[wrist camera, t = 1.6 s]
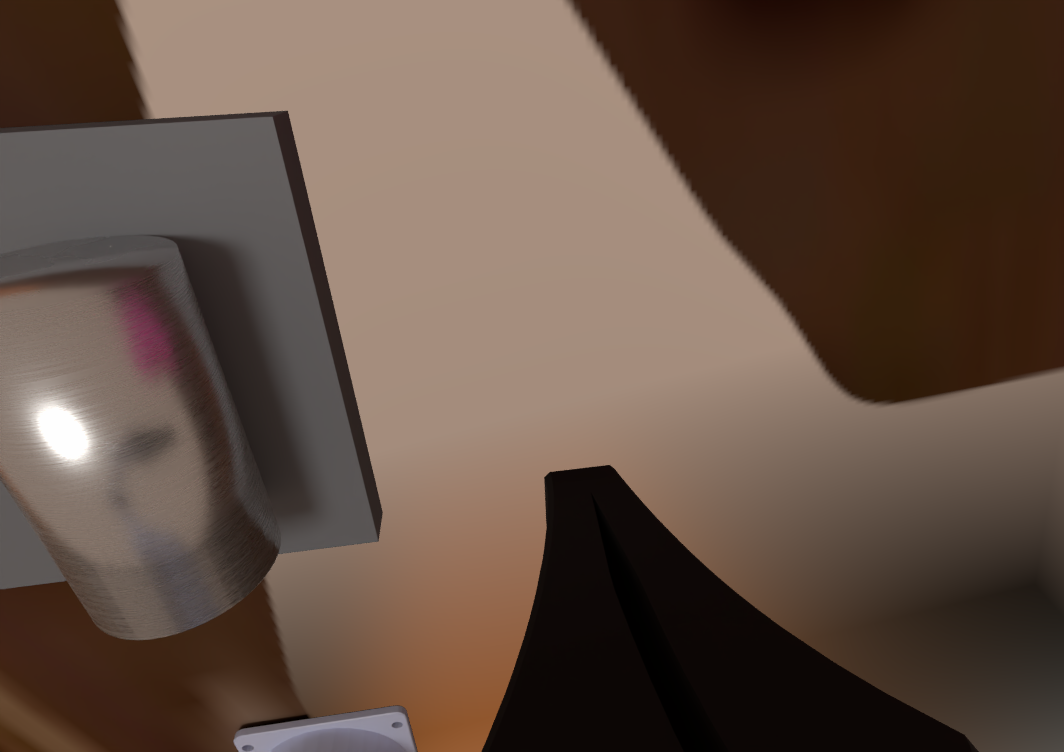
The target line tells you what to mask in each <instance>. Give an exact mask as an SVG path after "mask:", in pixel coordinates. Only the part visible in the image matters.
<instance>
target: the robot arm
mask: <svg viewBox="0 0 1064 752" xmlns="http://www.w3.org/2000/svg"><path fill="white" fill-rule="evenodd" d="M544 479H545V501H546V523H547V530H546V539H545V547H544V554H543V561H542V566H541V570H540V575H539V581H538V586H537V591H536V595H535V599H534V603H533V607H532V611H531V615H530V619H529V622H528V626H527V629H526V633H525V636H524V640H523V643H522V646H521V649H520V652H519V655H518V658H517V661H516V664H515V667H514V670H513V673H512V676H511V679H510V682H509V685H508V687H507V690H506V693H505V695H504V698H503V701H502V703H501V705H500V708H499V710H498V713H497V716H496V718H495V720H494V723H493V725H492V728H491V730H490V733H489V736H488V738H487V740H486V743H485V745H484V747H483V749H482V752H978V750H977V749H976V748H975V747H974V746H973V745H972V743H971V742H970V741H969V740H968V739H967V737H966V736H965V735H964V734H962V733H960V732H958V731H956V730H954V729H952V728H950V727H949V726H947V725H945V724H943V723H941V722H939V721H937V720H935V719H933V718H932V717H930V716H928V715H926V714H924V713H922V712H920V711H918V710H916V709H914V708H913V707H911V706H909V705H907V704H905V703H903V702H901V701H899V700H897V699H896V698H894V697H892V696H890V695H888V694H886V693H885V692H883V691H881V690H879V689H878V688H876V687H874V686H872V685H871V684H869V683H868V682H866V681H864V680H863V679H861V678H859V677H858V676H856V675H854V674H852V673H851V672H849V671H847V670H846V669H844V668H842V667H841V666H839V665H837V664H836V663H834V662H833V661H831V660H830V659H828V658H827V657H825V656H824V655H822V654H821V653H819V652H818V651H816V650H815V649H813V648H812V647H810V646H809V645H807V644H806V643H804V642H803V641H801V640H800V639H798V638H797V637H795V636H794V635H792V634H791V633H789V632H788V631H786V630H785V629H783V628H782V627H780V626H779V625H778V624H776V623H775V622H774V621H772V620H771V619H770V618H768V617H767V616H766V615H764V614H763V613H762V612H760V611H759V610H757V609H756V608H755V607H754V606H753V605H751V604H750V603H749V602H747V601H746V600H745V599H744V598H742V597H741V596H740V595H739V594H737V593H736V592H735V591H734V590H733V589H731V588H730V587H729V586H728V585H727V584H725V583H724V582H723V581H722V580H721V579H720V578H718V577H717V576H716V575H715V574H714V573H713V572H712V571H710V570H709V569H708V568H707V567H706V566H705V565H704V564H703V563H702V562H700V560H698V559H697V558H696V557H695V556H694V555H693V554H692V553H691V552H690V551H689V550H688V549H687V548H686V547H685V546H684V545H683V544H682V543H681V542H680V541H679V540H678V539H677V538H676V537H675V536H674V535H673V534H672V533H671V532H670V531H669V530H668V529H667V528H666V527H665V526H664V525H663V524H662V523H661V522H660V521H659V520H658V519H657V518H656V517H655V516H654V515H653V513H652V512H651V511H650V510H649V509H648V508H647V507H646V506H645V505H644V504H643V502H642V501H641V500H640V499H639V498H638V497H637V495H636V494H635V493H634V492H633V491H632V490H631V488H630V487H629V486H628V485H627V484H626V483H625V481H624V480H623V479H622V478H621V476H620V475H619V474H618V473H617V471H616V470H615V469H614V468H613V467H611V466H610V465H606V466H597V467H589V468H580V469H572V470H564V471H556V472H550V473H548V474H547V475H546V476H545V477H544ZM234 744H235V746H236V748H237V749H238V751H239V752H418V751H417V747H416V744H415V740H414V736H413V733H412V729H411V725H410V722H409V718H408V714H407V711H406V709H405V708H404V707H402V706H389V707H383V708H376V709H369V710H363V711H356V712H349V713H343V714H337V715H329V716H323V717H316V718H310V719H303V720H296V721H290V722H283V723H277V724H270V725H263V726H257V727H250V728H244V729H241V730H239V731H237V733H236V734H235V738H234Z"/></svg>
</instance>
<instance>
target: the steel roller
mask: <svg viewBox="0 0 1064 752" xmlns="http://www.w3.org/2000/svg"><path fill="white" fill-rule="evenodd" d="M0 480H1V481H2V483H3V485H4V486H5V488H6V489H7V491H8V492H9V494H10V495H11V497H12V498H13V500H14V501H15V503H16V504H17V506H18V507H19V509H20V510H21V512H22V513H23V515H24V516H25V518H26V520H27V521H28V523H29V524H30V526H31V527H32V529H33V530H34V532H35V533H36V535H37V536H38V538H39V539H40V541H41V542H42V544H43V545H44V547H45V548H46V550H47V551H48V553H49V554H50V556H51V558H52V559H53V561H54V562H55V564H56V565H57V567H58V568H59V570H60V571H61V573H62V574H63V576H64V577H65V579H66V580H67V582H68V583H69V585H70V586H71V588H72V589H73V591H74V593H75V594H76V596H77V597H78V599H79V600H80V602H81V603H82V605H83V606H84V608H85V609H86V611H87V612H88V614H89V615H90V617H91V618H92V620H93V621H94V623H95V624H96V625H97V626H98V627H99V629H101V630H102V631H104V632H105V633H107V634H109V635H111V636H114V637H117V638H122V639H127V640H147V639H156V638H161V637H166V636H170V635H174V634H177V633H181V632H183V631H186V630H189V629H192V628H194V627H196V626H199V625H201V624H203V623H205V622H207V621H209V620H211V619H213V618H215V617H217V616H218V615H220V614H222V613H223V612H225V611H226V610H228V609H230V608H231V607H233V606H234V605H235V604H237V603H238V602H239V601H241V600H242V599H243V598H244V597H245V596H247V595H248V594H249V593H250V592H251V591H252V590H253V589H254V588H255V587H256V586H257V585H258V584H259V583H260V582H261V581H262V580H263V578H264V577H265V576H266V574H267V573H268V572H269V570H270V569H271V567H272V565H273V564H274V562H275V560H276V558H277V556H278V553H279V550H280V546H281V530H280V528H279V525H278V522H277V519H276V517H275V514H274V511H273V508H272V505H271V503H270V500H269V497H268V494H267V492H266V489H265V486H264V483H263V481H262V478H261V475H260V472H259V470H258V467H257V464H256V461H255V459H254V456H253V453H252V450H251V448H250V445H249V442H248V439H247V437H246V434H245V431H244V428H243V426H242V423H241V420H240V417H239V415H238V412H237V409H236V406H235V404H234V401H233V398H232V395H231V392H230V390H229V387H228V384H227V381H226V379H225V376H224V373H223V370H222V368H221V365H220V362H219V359H218V357H217V354H216V351H215V348H214V346H213V343H212V340H211V337H210V335H209V332H208V329H207V326H206V324H205V321H204V318H203V315H202V313H201V310H200V307H199V304H198V302H197V299H196V296H195V293H194V291H193V288H192V285H191V282H190V279H189V277H188V274H187V271H186V268H185V266H184V263H183V260H182V257H181V255H180V252H179V249H178V246H177V244H176V243H175V242H174V241H172V240H169V239H166V238H162V237H156V236H144V235H125V236H108V237H95V238H87V239H78V240H71V241H64V242H58V243H52V244H46V245H41V246H35V247H30V248H25V249H20V250H16V251H11V252H7V253H3V254H0Z"/></svg>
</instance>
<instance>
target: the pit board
mask: <svg viewBox="0 0 1064 752" xmlns="http://www.w3.org/2000/svg"><path fill="white" fill-rule="evenodd" d="M125 235H144V236H156V237H162V238H166V239H169V240H172V241H174V242H175V243H176V244H177V246H178V249H179V252H180V255H181V257H182V260H183V263H184V266H185V268H186V271H187V274H188V277H189V279H190V282H191V285H192V288H193V291H194V293H195V296H196V299H197V302H198V304H199V307H200V310H201V313H202V315H203V318H204V321H205V324H206V326H207V329H208V332H209V335H210V337H211V340H212V343H213V346H214V348H215V351H216V354H217V357H218V359H219V362H220V365H221V368H222V370H223V373H224V376H225V379H226V381H227V384H228V387H229V390H230V392H231V395H232V398H233V401H234V404H235V406H236V409H237V412H238V415H239V417H240V420H241V423H242V426H243V428H244V431H245V434H246V437H247V439H248V442H249V445H250V448H251V450H252V453H253V456H254V459H255V461H256V464H257V467H258V470H259V472H260V475H261V478H262V481H263V483H264V486H265V489H266V492H267V494H268V497H269V500H270V503H271V505H272V508H273V511H274V514H275V517H276V519H277V522H278V525H279V528H280V530H281V546H280V550H279V553H278V554H283V553H291V552H298V551H306V550H314V549H322V548H330V547H337V546H346V545H354V544H362V543H370V542H378V541H379V534H380V527H381V519H382V508H381V504H380V500H379V495H378V491H377V487H376V483H375V478H374V474H373V470H372V466H371V462H370V457H369V453H368V449H367V444H366V440H365V436H364V432H363V428H362V423H361V419H360V415H359V411H358V406H357V402H356V398H355V394H354V390H353V385H352V381H351V377H350V372H349V369H348V364H347V360H346V356H345V352H344V347H343V343H342V339H341V334H340V330H339V326H338V322H337V317H336V314H335V309H334V305H333V300H332V296H331V292H330V288H329V284H328V280H327V275H326V271H325V267H324V262H323V258H322V254H321V250H320V245H319V241H318V237H317V233H316V229H315V224H314V220H313V216H312V212H311V207H310V203H309V199H308V195H307V190H306V186H305V182H304V178H303V174H302V169H301V165H300V161H299V156H298V152H297V148H296V144H295V140H294V135H293V131H292V127H291V123H290V119H289V114H288V111H277V112H261V113H244V114H228V115H211V116H194V117H179V118H161V119H145V120H128V121H112V122H95V123H79V124H62V125H46V126H29V127H13V128H0V254H3V253H7V252H11V251H16V250H20V249H25V248H30V247H35V246H41V245H46V244H52V243H58V242H64V241H71V240H78V239H87V238H95V237H108V236H125ZM61 581H67V580H66V579H65V577H64V576H63V574H62V573H61V571H60V570H59V568H58V567H57V565H56V564H55V562H54V561H53V559H52V558H51V556H50V554H49V553H48V551H47V550H46V548H45V547H44V545H43V544H42V542H41V541H40V539H39V538H38V536H37V535H36V533H35V532H34V530H33V529H32V527H31V526H30V524H29V523H28V521H27V520H26V518H25V516H24V515H23V513H22V512H21V510H20V509H19V507H18V506H17V504H16V503H15V501H14V500H13V498H12V497H11V495H10V494H9V492H8V491H7V489H6V488H5V486H4V485H3V483H2V481H1V480H0V589H6V588H14V587H22V586H30V585H37V584H45V583H53V582H61Z"/></svg>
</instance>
